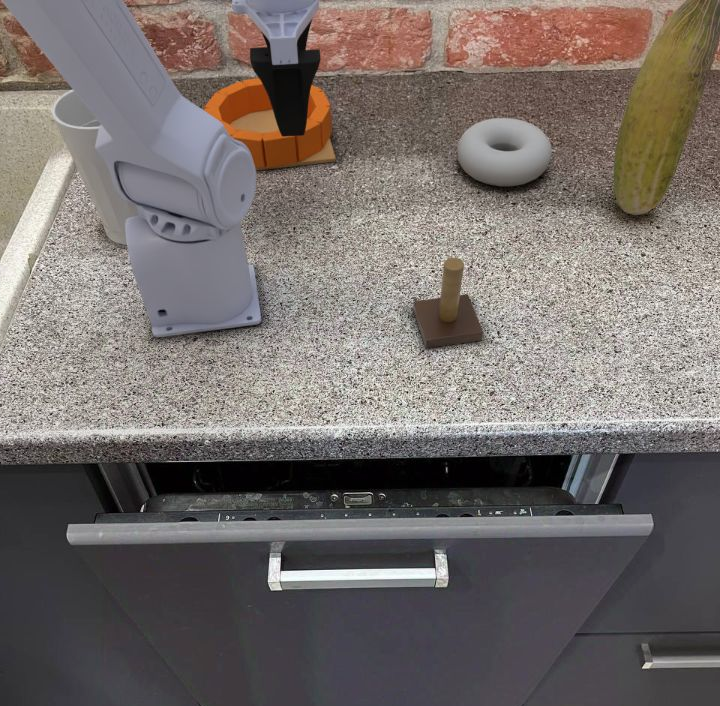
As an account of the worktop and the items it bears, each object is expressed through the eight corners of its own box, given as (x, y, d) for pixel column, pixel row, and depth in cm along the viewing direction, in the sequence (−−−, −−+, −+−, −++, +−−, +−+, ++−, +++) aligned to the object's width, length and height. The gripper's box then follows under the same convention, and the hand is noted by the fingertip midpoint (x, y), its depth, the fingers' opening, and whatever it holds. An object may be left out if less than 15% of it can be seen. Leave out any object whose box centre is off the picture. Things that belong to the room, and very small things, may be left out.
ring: (342, 155, 75) (342, 128, 73) (219, 175, 74) (214, 148, 71) (315, 96, 83) (313, 69, 80) (202, 112, 81) (197, 86, 79)
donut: (450, 189, 73) (546, 197, 71) (452, 157, 70) (553, 165, 68) (461, 139, 78) (550, 145, 77) (464, 108, 75) (557, 114, 74)
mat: (217, 174, 74) (216, 171, 74) (210, 114, 82) (210, 110, 81) (335, 161, 76) (335, 158, 75) (318, 102, 83) (318, 99, 82)
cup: (80, 236, 68) (31, 115, 59) (130, 194, 72) (93, 74, 63) (144, 259, 66) (104, 137, 56) (192, 215, 70) (163, 93, 60)
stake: (425, 348, 59) (431, 287, 54) (412, 309, 62) (416, 248, 56) (482, 340, 59) (493, 279, 54) (466, 302, 62) (475, 240, 57)
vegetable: (613, 233, 68) (690, 0, 51) (584, 197, 71) (647, -31, 55) (668, 221, 69) (761, -10, 52) (636, 187, 72) (714, -41, 56)
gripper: (225, -99, 56) (249, 76, 67) (218, -29, 48) (247, 157, 59) (311, -103, 56) (321, 72, 68) (319, -34, 48) (329, 152, 59)
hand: (291, 112), depth 63 cm, fingers open, 7 cm apart
